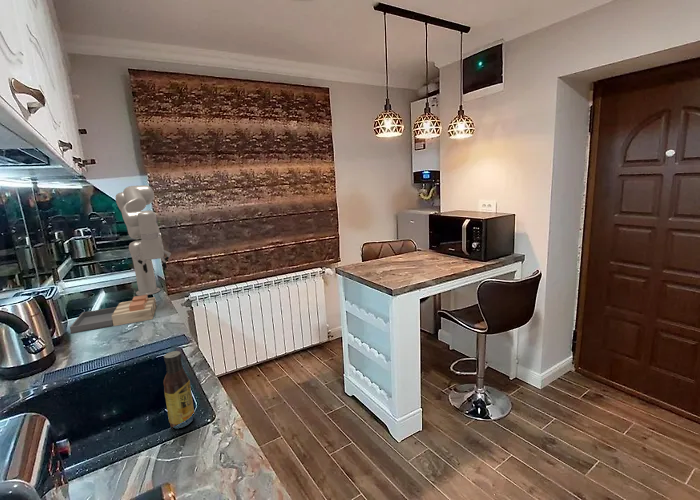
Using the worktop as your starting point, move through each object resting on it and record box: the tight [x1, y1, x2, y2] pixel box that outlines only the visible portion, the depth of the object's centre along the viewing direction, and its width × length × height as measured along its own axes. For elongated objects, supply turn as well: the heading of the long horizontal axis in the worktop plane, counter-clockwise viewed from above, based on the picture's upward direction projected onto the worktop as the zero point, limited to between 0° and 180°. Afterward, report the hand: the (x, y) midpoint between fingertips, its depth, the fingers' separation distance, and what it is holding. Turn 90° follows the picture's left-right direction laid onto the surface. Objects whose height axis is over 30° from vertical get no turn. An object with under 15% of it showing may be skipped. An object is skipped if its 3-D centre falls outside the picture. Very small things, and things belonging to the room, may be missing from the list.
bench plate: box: [112, 296, 157, 327], centre depth 179 cm, size 20×16×5 cm
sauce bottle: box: [163, 350, 195, 429], centre depth 95 cm, size 7×6×20 cm
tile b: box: [129, 300, 146, 311], centre depth 174 cm, size 6×6×2 cm
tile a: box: [131, 295, 149, 303], centre depth 183 cm, size 6×6×2 cm
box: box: [69, 306, 117, 334], centre depth 173 cm, size 20×16×3 cm
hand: (155, 270), depth 184 cm, fingers open, 7 cm apart
